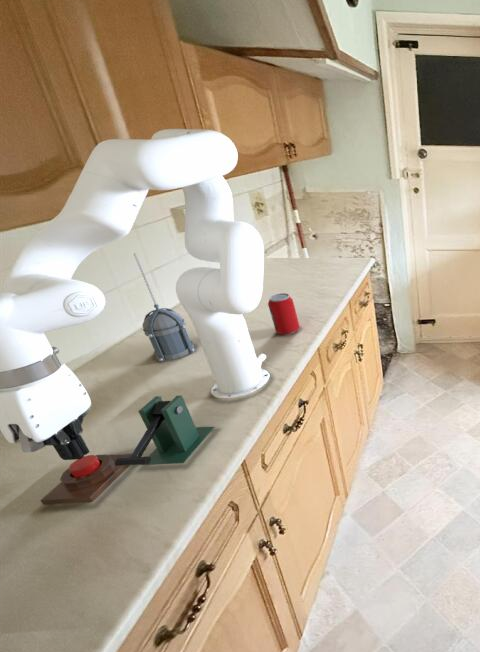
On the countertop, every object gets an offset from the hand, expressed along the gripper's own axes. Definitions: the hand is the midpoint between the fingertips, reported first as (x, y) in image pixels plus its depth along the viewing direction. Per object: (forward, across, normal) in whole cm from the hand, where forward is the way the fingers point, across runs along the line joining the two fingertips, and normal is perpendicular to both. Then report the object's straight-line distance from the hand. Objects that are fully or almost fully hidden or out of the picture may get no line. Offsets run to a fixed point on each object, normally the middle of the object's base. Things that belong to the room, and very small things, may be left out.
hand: (76, 456), depth 70 cm
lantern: (+7, -47, -17) cm, 51 cm away
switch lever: (0, -4, +10) cm, 11 cm away
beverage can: (+7, -58, +10) cm, 60 cm away
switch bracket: (+7, -8, +10) cm, 15 cm away
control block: (+7, 0, 0) cm, 7 cm away
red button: (+4, 0, 0) cm, 4 cm away
